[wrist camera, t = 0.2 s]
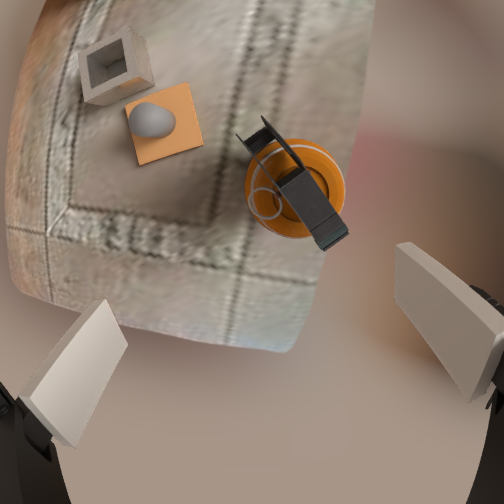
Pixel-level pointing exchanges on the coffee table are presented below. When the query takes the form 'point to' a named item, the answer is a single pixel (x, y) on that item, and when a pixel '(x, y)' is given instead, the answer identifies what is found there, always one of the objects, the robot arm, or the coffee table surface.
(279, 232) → the canister
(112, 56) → the grey hollow block
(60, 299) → the coffee table surface
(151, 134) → the block
